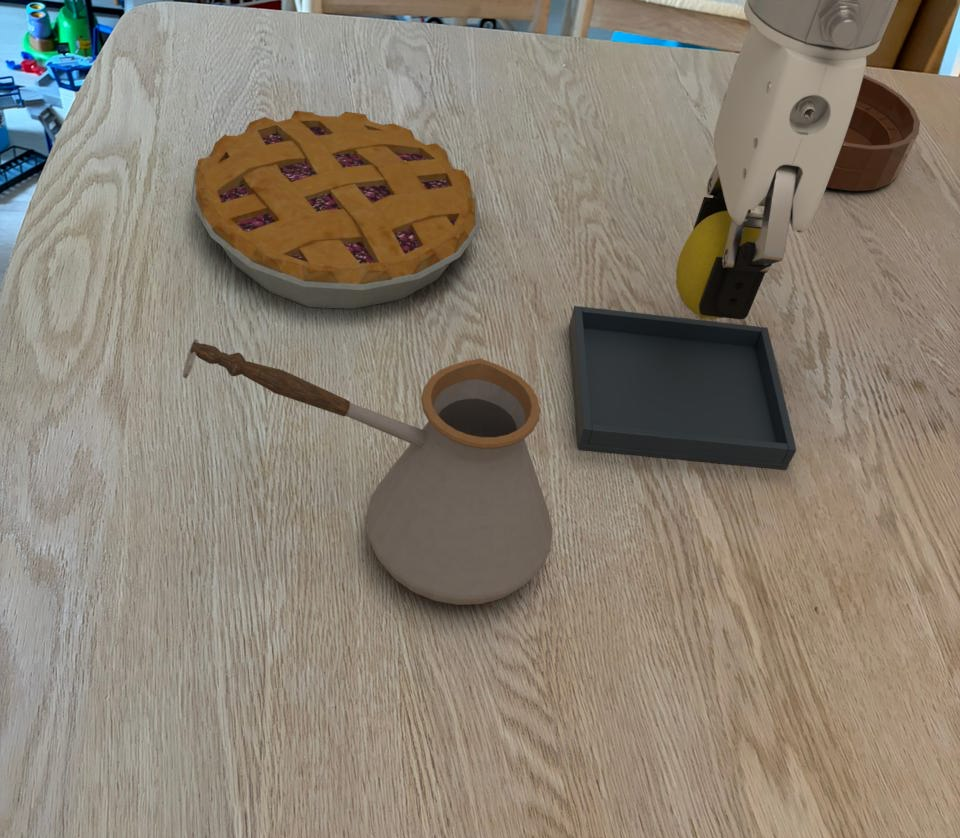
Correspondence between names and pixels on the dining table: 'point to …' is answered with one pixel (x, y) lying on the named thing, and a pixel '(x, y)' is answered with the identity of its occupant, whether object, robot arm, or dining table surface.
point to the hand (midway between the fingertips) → (716, 281)
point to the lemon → (704, 257)
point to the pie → (335, 208)
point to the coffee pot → (445, 479)
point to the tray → (678, 389)
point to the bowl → (875, 139)
